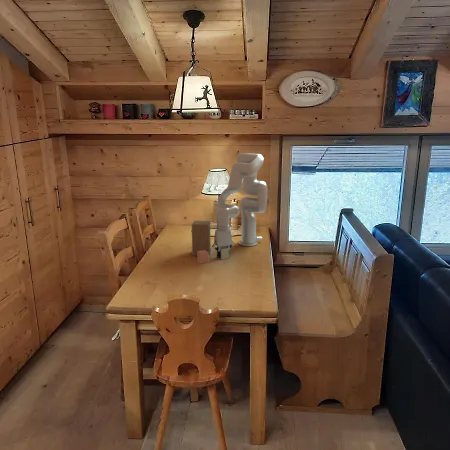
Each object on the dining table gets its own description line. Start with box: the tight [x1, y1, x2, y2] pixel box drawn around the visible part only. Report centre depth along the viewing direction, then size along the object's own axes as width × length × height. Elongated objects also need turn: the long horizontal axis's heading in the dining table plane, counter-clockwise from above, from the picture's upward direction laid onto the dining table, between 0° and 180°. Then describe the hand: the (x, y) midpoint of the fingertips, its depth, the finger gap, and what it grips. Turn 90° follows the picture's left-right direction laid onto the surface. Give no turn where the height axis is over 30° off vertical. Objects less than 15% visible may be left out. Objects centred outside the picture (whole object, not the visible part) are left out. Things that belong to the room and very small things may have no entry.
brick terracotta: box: [196, 250, 210, 264], centre depth 245 cm, size 5×5×6 cm
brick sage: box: [220, 246, 230, 260], centre depth 252 cm, size 5×5×6 cm
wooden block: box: [191, 220, 212, 257], centre depth 257 cm, size 10×10×20 cm
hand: (223, 256), depth 253 cm, fingers closed on brick sage, 5 cm apart
